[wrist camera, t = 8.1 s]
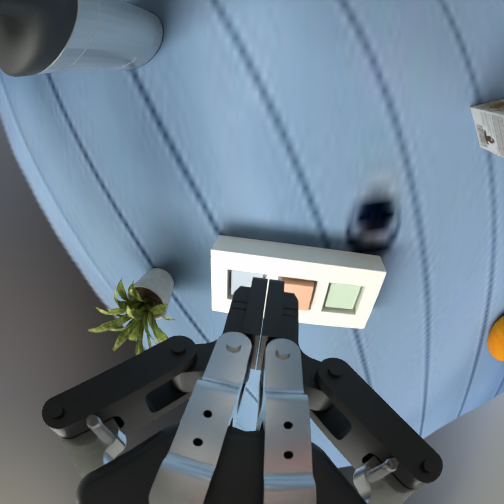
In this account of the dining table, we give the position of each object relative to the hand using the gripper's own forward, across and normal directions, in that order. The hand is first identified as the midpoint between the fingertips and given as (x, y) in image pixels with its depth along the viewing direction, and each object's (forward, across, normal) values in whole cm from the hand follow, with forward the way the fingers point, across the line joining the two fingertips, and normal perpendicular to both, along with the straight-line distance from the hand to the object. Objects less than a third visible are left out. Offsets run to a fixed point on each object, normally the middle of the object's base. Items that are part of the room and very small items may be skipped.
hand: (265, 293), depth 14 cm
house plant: (+26, +17, +22) cm, 38 cm away
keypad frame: (+25, -4, +17) cm, 31 cm away
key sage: (+24, -11, +17) cm, 31 cm away
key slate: (+24, +3, +17) cm, 30 cm away
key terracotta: (+22, -4, +17) cm, 29 cm away
